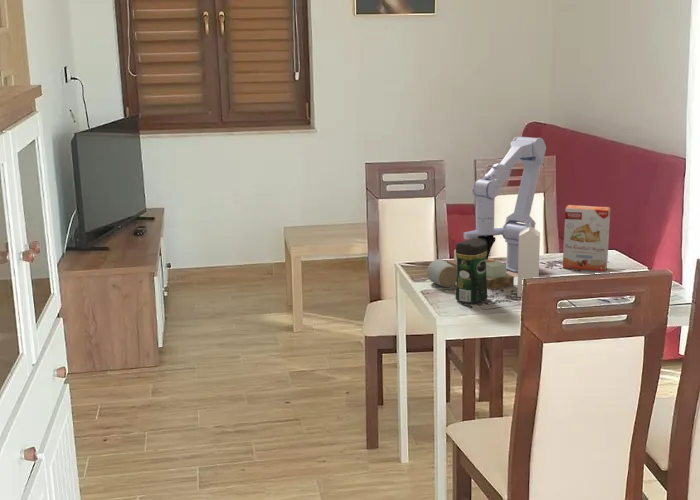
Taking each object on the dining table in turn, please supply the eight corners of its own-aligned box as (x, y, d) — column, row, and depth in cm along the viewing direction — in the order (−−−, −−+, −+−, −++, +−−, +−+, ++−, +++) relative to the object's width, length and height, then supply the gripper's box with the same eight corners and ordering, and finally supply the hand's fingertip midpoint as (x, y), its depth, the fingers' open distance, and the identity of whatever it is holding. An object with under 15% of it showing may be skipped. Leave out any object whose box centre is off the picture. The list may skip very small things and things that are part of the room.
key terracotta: (486, 268, 279) (487, 256, 278) (495, 272, 274) (495, 260, 273) (473, 270, 277) (473, 258, 276) (481, 274, 272) (481, 262, 271)
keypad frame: (469, 265, 293) (469, 257, 292) (513, 285, 268) (513, 276, 268) (447, 269, 290) (447, 260, 289) (489, 289, 265) (489, 280, 265)
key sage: (497, 273, 273) (497, 261, 272) (506, 277, 268) (506, 264, 268) (483, 275, 271) (484, 263, 270) (492, 279, 267) (492, 266, 266)
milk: (517, 297, 257) (518, 225, 252) (518, 291, 263) (519, 221, 257) (538, 298, 255) (539, 225, 250) (538, 292, 261) (540, 221, 256)
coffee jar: (469, 293, 261) (470, 234, 257) (491, 298, 256) (492, 238, 252) (450, 301, 254) (450, 240, 250) (472, 306, 249) (473, 244, 245)
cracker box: (562, 268, 287) (564, 207, 282) (565, 264, 292) (567, 204, 287) (605, 272, 281) (608, 209, 276) (607, 267, 287) (610, 206, 282)
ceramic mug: (439, 290, 266) (440, 266, 264) (426, 283, 273) (426, 260, 271) (468, 285, 270) (469, 262, 269) (454, 279, 278) (455, 256, 276)
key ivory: (467, 259, 290) (467, 248, 289) (474, 263, 286) (474, 251, 285) (454, 261, 288) (454, 250, 287) (461, 265, 284) (461, 253, 283)
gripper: (498, 212, 278) (497, 253, 281) (458, 217, 272) (458, 258, 275) (509, 216, 271) (509, 258, 274) (470, 221, 266) (469, 263, 269)
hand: (484, 258), depth 275 cm, fingers closed
